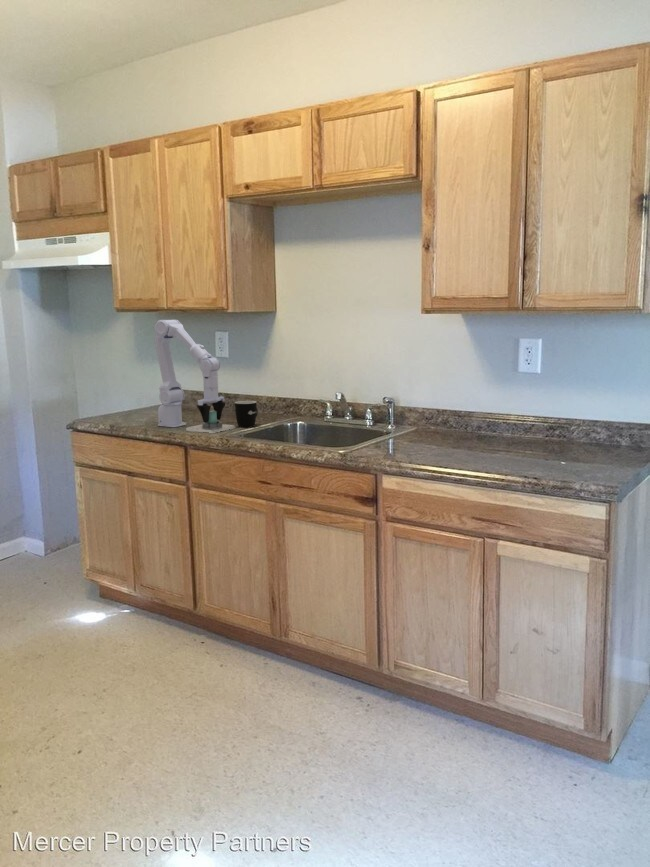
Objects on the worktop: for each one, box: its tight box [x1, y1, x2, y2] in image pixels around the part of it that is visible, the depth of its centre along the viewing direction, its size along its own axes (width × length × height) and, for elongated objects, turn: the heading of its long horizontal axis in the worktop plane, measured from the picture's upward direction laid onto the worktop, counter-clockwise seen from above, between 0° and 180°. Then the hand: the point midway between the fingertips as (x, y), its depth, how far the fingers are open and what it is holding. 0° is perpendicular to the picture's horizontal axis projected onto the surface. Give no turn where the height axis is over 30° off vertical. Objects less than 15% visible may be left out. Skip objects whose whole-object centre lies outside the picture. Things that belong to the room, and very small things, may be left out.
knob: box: [206, 409, 218, 424], centre depth 294 cm, size 4×4×6 cm
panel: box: [185, 420, 236, 434], centre depth 293 cm, size 14×14×3 cm
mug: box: [234, 400, 258, 428], centre depth 301 cm, size 12×9×10 cm
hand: (211, 420), depth 294 cm, fingers open, 7 cm apart
